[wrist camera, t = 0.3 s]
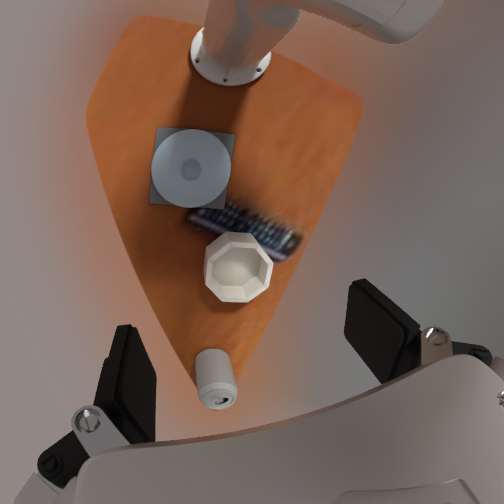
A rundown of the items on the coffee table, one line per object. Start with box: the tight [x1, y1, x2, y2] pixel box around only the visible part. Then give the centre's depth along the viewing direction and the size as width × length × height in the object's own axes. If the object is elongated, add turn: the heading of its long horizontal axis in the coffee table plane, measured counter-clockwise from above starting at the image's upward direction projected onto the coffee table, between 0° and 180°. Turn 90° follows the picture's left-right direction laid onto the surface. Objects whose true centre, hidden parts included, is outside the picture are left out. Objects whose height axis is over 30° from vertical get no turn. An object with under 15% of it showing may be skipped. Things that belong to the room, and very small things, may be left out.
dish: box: [203, 232, 273, 302], centre depth 45 cm, size 10×10×5 cm
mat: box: [149, 127, 235, 209], centre depth 39 cm, size 12×12×1 cm
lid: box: [151, 129, 231, 208], centre depth 37 cm, size 12×12×5 cm
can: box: [195, 349, 238, 410], centre depth 49 cm, size 8×8×12 cm
